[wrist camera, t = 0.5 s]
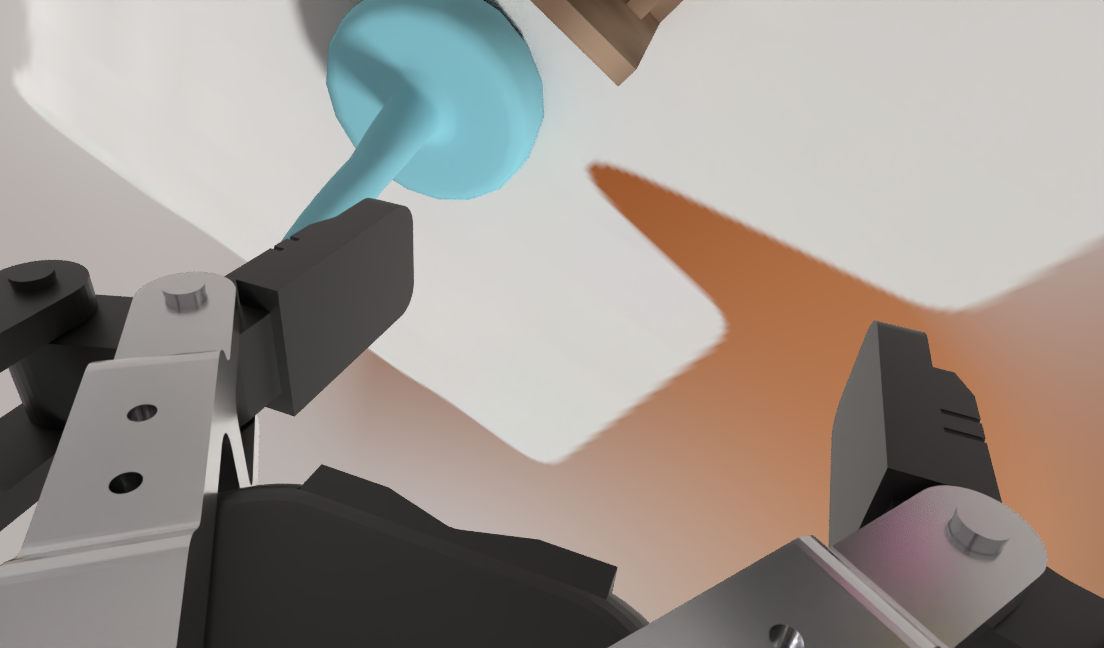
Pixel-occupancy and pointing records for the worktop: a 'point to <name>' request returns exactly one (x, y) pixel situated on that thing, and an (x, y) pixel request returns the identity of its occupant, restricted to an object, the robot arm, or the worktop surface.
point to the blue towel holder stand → (428, 102)
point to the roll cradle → (609, 29)
